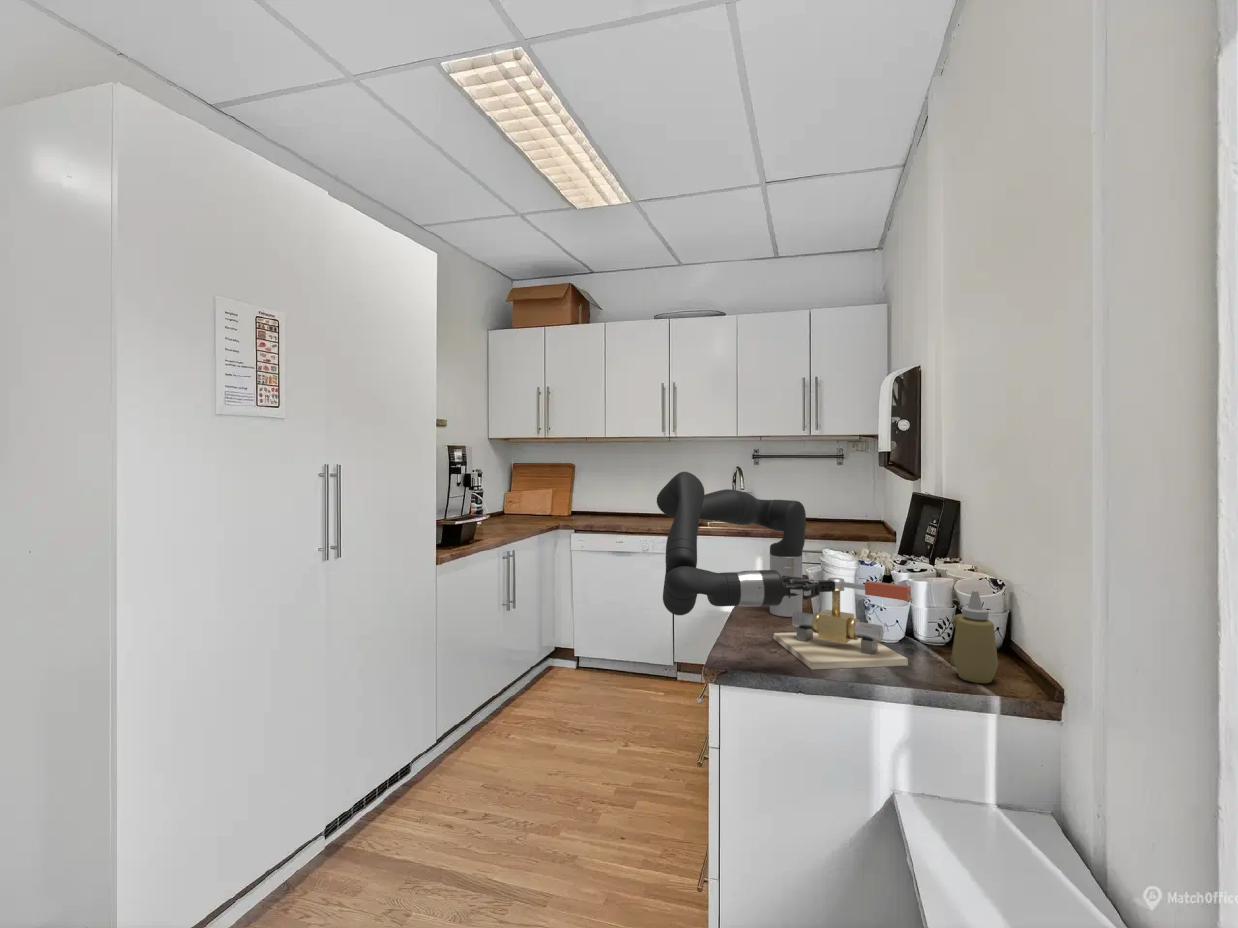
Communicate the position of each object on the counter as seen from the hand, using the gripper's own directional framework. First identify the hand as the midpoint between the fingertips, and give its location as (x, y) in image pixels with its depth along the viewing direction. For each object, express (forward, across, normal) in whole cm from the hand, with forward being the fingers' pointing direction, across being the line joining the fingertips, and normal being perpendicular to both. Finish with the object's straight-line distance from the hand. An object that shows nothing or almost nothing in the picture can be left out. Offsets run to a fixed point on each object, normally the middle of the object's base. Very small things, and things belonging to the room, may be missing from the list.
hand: (833, 585), depth 129 cm
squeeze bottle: (+26, -10, +18) cm, 33 cm away
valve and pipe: (+6, +10, +16) cm, 20 cm away
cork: (+30, -2, +18) cm, 35 cm away
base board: (+6, +10, +18) cm, 21 cm away
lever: (+11, +5, +3) cm, 12 cm away
